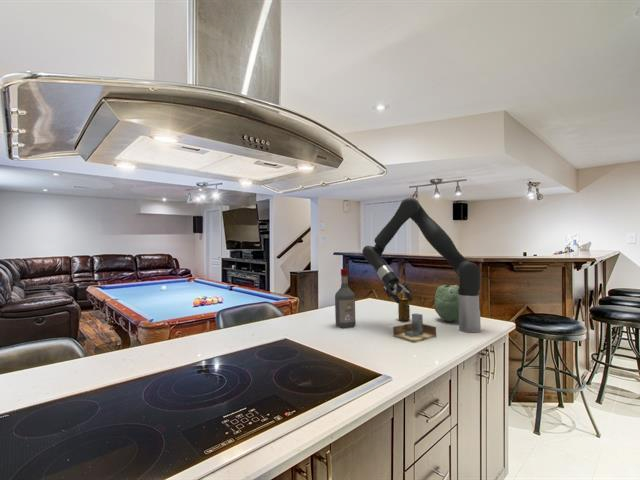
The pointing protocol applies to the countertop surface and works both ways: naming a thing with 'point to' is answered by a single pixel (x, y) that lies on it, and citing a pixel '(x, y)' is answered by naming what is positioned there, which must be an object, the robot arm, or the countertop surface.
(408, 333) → the bracket
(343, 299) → the liquor
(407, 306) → the condiment
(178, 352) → the countertop surface
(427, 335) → the tray
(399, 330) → the walls
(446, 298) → the green rounded lump
